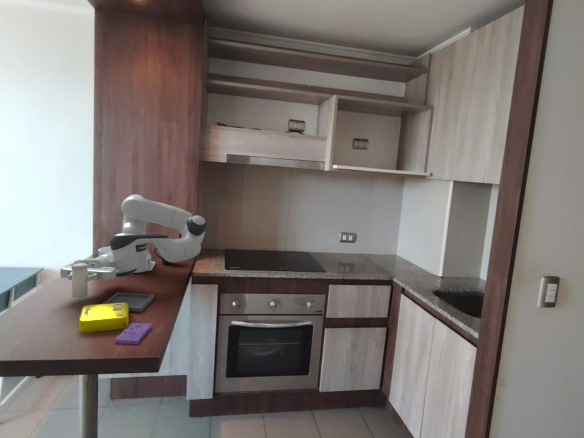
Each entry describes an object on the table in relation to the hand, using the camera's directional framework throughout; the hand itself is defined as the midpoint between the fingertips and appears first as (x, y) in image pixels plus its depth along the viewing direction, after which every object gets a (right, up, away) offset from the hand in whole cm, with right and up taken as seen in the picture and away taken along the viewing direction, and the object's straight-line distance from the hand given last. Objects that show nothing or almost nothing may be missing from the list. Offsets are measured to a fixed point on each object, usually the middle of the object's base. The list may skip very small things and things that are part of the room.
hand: (78, 278), depth 141 cm
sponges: (+29, -16, -19) cm, 38 cm away
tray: (+16, -11, +6) cm, 21 cm away
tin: (-1, -7, +2) cm, 7 cm away
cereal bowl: (-18, -1, +67) cm, 69 cm away
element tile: (+15, -14, -11) cm, 24 cm away
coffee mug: (+10, -3, +69) cm, 70 cm away
